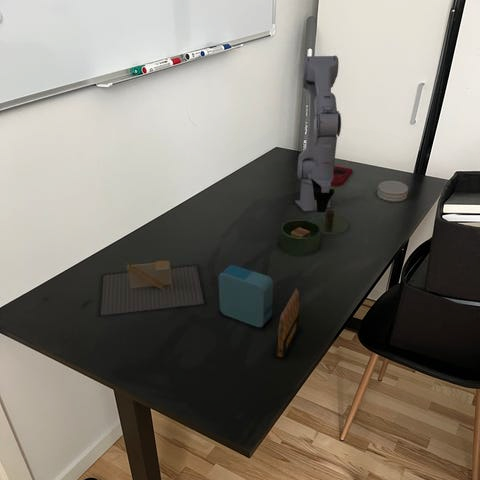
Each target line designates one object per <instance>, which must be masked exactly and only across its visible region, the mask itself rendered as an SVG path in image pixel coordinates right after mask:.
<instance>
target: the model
mask: <svg viewBox="0 0 480 480" xmlns="http://www.w3.org/2000/svg"><path fill="white" fill-rule="evenodd" d="M171 269H172V268H171V264H170V261H169V260H158V261H157V260H156V261H154V262H151V263H140V264H139V263H138V264H130V263H128V262H126V270H127V272H126V273H127V275H128V281H129V286H130V288H131V289H135V288H144V287H153V286H155V287H156V288H158V289H160V290H164V289H165V288H164V285H170V290H171V291H173V290H174V287H173V278H172V270H171Z"/></svg>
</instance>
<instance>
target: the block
mask: <svg viewBox="0 0 480 480" xmlns="http://www.w3.org/2000/svg"><path fill="white" fill-rule="evenodd" d="M290 236H293V237H299V238H306V237H310V231H307V230H305V229H303V228H300V227H299V228H297V229H295V230H293V231H292V232H291V235H290Z"/></svg>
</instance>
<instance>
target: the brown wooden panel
mask: <svg viewBox="0 0 480 480" xmlns="http://www.w3.org/2000/svg"><path fill="white" fill-rule="evenodd" d="M299 299H300V297H299V289H298V288H297V287H296V288H295V290H294V292H292V295H291V297H290V298H289V300H288V302H287V304H286V306H285V307H284V309H283V311H282V312H281V314H280V318H279V323H278V324H279V325H278V333H277V337H276V343H275V344H276V345H275V357H277V358H280V359H285V357H286V355H287V353H288V351H289V349H290V347H291V345H292V343H293V341H294V340H295V337H296V335H297V333H298V331H299V324H300V312H299V311H300V303H299Z"/></svg>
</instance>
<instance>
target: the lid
mask: <svg viewBox="0 0 480 480" xmlns="http://www.w3.org/2000/svg"><path fill="white" fill-rule="evenodd" d="M309 221H312V222H314V223H316V224H318V225H319V226H320V229H321V234H322V235H329V236H330V235H331V236H332V235H340V234H344V233H345V232H346V231H348V230H349V227H350V224H349V222H348V220H347V219H346V218H344V217H342V216H338V215H335V211H334V210H333V209H326V211H325V214H318V215H316V216H313V217H312V218H311V219H310V220H309Z"/></svg>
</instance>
